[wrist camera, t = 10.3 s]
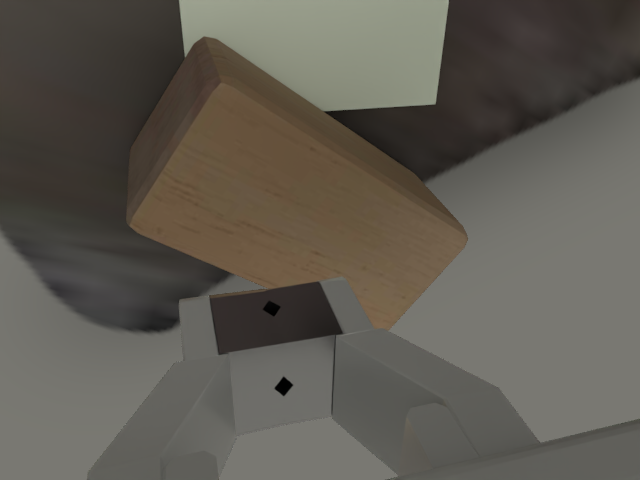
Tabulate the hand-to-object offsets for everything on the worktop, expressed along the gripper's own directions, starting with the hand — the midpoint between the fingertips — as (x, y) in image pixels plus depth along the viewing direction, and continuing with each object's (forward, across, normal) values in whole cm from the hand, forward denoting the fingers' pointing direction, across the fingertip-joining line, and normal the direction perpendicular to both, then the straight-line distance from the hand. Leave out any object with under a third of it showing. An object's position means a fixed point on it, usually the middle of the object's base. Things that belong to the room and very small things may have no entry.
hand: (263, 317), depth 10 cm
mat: (+29, -9, -1) cm, 30 cm away
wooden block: (+23, +2, +3) cm, 24 cm away
